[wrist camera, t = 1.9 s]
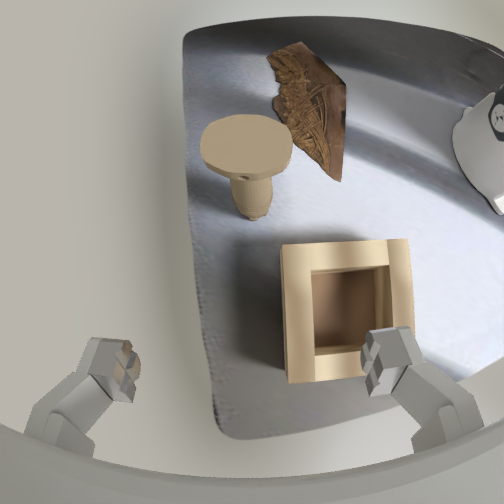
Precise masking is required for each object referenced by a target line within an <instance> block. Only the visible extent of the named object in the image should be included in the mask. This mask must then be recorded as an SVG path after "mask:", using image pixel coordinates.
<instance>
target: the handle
mask: <svg viewBox="0 0 504 504" xmlns="http://www.w3.org/2000/svg"><path fill="white" fill-rule="evenodd" d="M292 147H293V141H292V135H291V133H290V131H289V129H288V128H287V126H286V125H284V124H282V123H280V122H278V121H276V120H273V119H271V118H268V117H265V116H261V115H244V114H241V115H232V116H228V117H225V118H222V119H219V120H217V121H214V122H211V123H210V124H209V125H208V126H207V128H206V129H205V130H204V133H203V135H202V138H201V142H200V151H201V155H202V158H203V160H204V162H205V164H206V166H207V167H208V168H209V169H211V170H212V171H214V172H216V173H218V174H220V175H222V176H225V177H228V178H230V183H231V191H232V196H233V199H234V202H235V204H236V206H237V208H238V209H239V211H240V213H241V214H242V215H245V216H247V217H248V218H249V219H250V220H251V221H256V220H257V219H258V218H260V217H262V216H266V214H267V213H268V209H269V207H270V204H271V201H272V195H273V187H272V179H271V176H274V175H276V174H279V173H281V172H283V171H284V170H285V168H286V167H287V165H288V164H289V161H290V158H291V154H292Z"/></svg>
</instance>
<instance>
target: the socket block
mask: <svg viewBox="0 0 504 504" xmlns="http://www.w3.org/2000/svg"><path fill="white" fill-rule="evenodd" d="M279 258H280V275H281V294H282V314H283V335H284V360H285V373H286V376H287V380H288V384H290V383H303V382H314V381H324V380H333V379H341V378H349V377H356V376H363V375H367V374H366V373H364V372H363V371H362V367H361V361H360V353H361V349H362V346H363V345H364V344H365V343H366V340H365V336H366V333H367V332H368V331H371V330H378V329H385V328H391V327H394V328H395V327H400V326H407V325H408V326H409V327H410V328H411V330H412V332H413V334H414V337H415V316H414V297H413V283H412V271H411V262H410V253H409V245H408V239H387V240H366V241H346V242H326V243H306V244H287V245H282V246H281V250H280V254H279Z"/></svg>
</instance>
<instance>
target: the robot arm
mask: <svg viewBox="0 0 504 504" xmlns="http://www.w3.org/2000/svg"><path fill="white" fill-rule="evenodd" d="M452 141H453V147H454V151H455V154H456V157H457V160H458V162H459V164H460V166H461V168H462V170H463V172H464V173H465V175H466V176H467V178H468V179H469V181H470V182H471V183H472V184H473V185H474V187H475V188H476V189H477V190H478V191H480V192H481V193H482V194H483V195H484V196H485V197H486V198H487V199H488V200H489V202H490V203H491V205H492V206H493V208H494V210H495V211H496V212H497V213H498V214H499V215H503V214H504V84H503V85H502V86H501V87H500V89H499V91H498V92H497V93H491V94H489V95H488V96H487V97H486V98H484V99H483V100H482V101H481V102H480V103H478V104H477V105H476V106H475V107H474V108H472V107H467V108H466V109H465V110H464V112H463V118H462V119H461V120H460V121H459V122H457V124H456V125H455V127H454V129H453V134H452ZM365 340H366V343H365V344H364V345H363V346H362V349H361V353H360V361H361V367H362V371H363V372H364V373H366V374H367V375H368V376H367V379H366V381H365V382H366V386H367V390H368V394H369V397H373V396H379V395H385V394H391V393H392V394H391V395H392V396H393V397H394V398H395V399H396V400H397V401H398V403H399V404H400V405H401V406H402V407H403V408H404V409H405V410H406V411H407V412H408V413H409V414H410V415H411V416H412V417H413V418H414V419H415V420H416V421H417V422H418V423H419V424H420V426H421V428H420V430H418V431H417V432H416V433H415V434H414V435H413V437H412V438H411V441H412V445H413V449H414V454H411V455H408V456H404V457H400V458H397V459H393V460H389V461H385V462H381V463H377V464H372V465H367V466H363V467H358V468H352V469H347V470H341V471H335V472H328V473H321V474H312V475H302V476H291V477H277V478H276V477H275V478H215V477H213V478H212V477H198V476H187V475H178V474H169V473H162V472H156V471H149V470H143V469H138V468H133V467H128V466H123V465H118V464H114V463H110V462H106V461H102V460H97V459H94V458H92V457H93V452H94V448H95V443H94V442H93V440H91V439H90V438H89V437H87V436H86V435H85V434H86V433H87V431H88V430H89V429H90V428H91V427H92V426H93V424H94V423H95V422H96V421H97V420H98V418H99V417H100V416H101V415H102V414H103V413H104V412H105V410H106V409H107V408H108V407H109V406H110V405H111V404H112V402H113V401H120V402H129V403H133V399H134V395H135V391H136V386H135V384H134V381H135V380H137V379H138V378H139V375H140V366H141V364H140V359H139V357H138V355H137V353H135V352H134V351H132V347H133V346H132V344H131V343H130V341H129V340H119V339H108V338H97V337H92V338H91V339H90V340H89V341H88V343H87V346H86V348H85V350H84V353H83V355H82V358H81V360H80V363H79V366H78V368H77V370H76V372H72V373H71V374H70V375H68V376H67V377H66V378H65V379H64V380H62V381H61V382H60V383H59V384H58V385H57V386H56V387H54V388H53V389H52V390H51V391H50V392H49V393H47V394H46V395H45V396H44V397H43V398H42V399H41V400H39V401H38V402H37V403H36V404H35V405H34V406H33V409H32V411H31V414H30V417H29V420H28V422H27V425H26V429H25V431H24V434H22V433H20V432H18V431H15V430H13V429H11V428H9V427H7V426H5V425H2V424H0V504H504V417H503V418H501V419H499V420H497V421H495V422H493V423H491V424H489V425H487V426H484V423H483V420H482V418H481V415H480V412H479V410H478V407H477V404H476V401H475V399H474V396H473V395H472V394H470V393H469V392H468V391H466V390H465V389H464V388H463V387H461V386H460V385H459V384H458V383H456V382H455V381H454V380H452V379H451V378H450V377H449V376H447V375H446V374H445V373H443V372H442V371H441V370H440V369H438V368H437V367H436V366H434V365H433V364H432V363H430V362H429V361H427V362H425V360H424V358H423V355H422V353H421V350H420V348H419V346H418V344H417V341H416V339H415V337H414V334H413V332H412V330H411V328H410V327H409V326H408V325H407V326H400V327H395V328H394V327H391V328H385V329H378V330H371V331H368V332H367V333H366V336H365Z"/></svg>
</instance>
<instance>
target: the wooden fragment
mask: <svg viewBox="0 0 504 504" xmlns="http://www.w3.org/2000/svg"><path fill="white" fill-rule="evenodd" d="M266 59H268V61H269V62H270V63H271V67H272V68H273V69H274V71H275V73H276V74H275V75H276V82H279V83H281V87H280V95H278V96H276V97H275V98H274V102H273V104H274V109H275V110H276V111H277V113H278V115H279V116H280V118H281V120H282V121H283V124H284V125H286V126H287V128H288V129H289V131H290V133H291V135H292V141H293V142H294V143H295V144H296V146H297V147H299V148H300V149H301V150H304V151H305V152H306V153H307V154H308V155H309V156H310V157H311V158H313V159H314V160H315V161H316V162H317V163H318V164H319V165H321V166H322V168H323V170H324V171H325V172H326V174H327V175H329V176H330V177H332V178H333V179H334V180H337V181H339V182H341V177H342V164H343V151H344V135H345V117H346V95H345V94H346V84H345V83H344V82H343V81H342V79H340V77H339V76H338V75H336V74H335V73H334V72H333V70H331V69H330V68H329V67H328V66H327V65H326V64H325V63H324V62H323V61H322V60H321V59H320V58H319V57H317V55H315V54H314V53H313V52H312V51H311V50H310V49H309V48H308V47H307V46H306V45H305V44H304V43H302V42H298V43H295V44H291V45H289V46H286V47H284V48H282V49H279V50H276V51H273V52H272V54H271V55H270V56H268V57H267V58H266Z"/></svg>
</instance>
